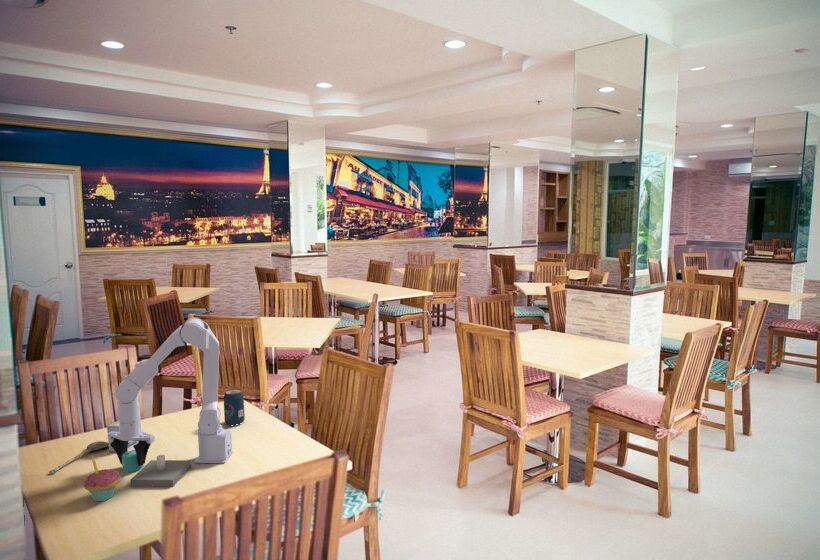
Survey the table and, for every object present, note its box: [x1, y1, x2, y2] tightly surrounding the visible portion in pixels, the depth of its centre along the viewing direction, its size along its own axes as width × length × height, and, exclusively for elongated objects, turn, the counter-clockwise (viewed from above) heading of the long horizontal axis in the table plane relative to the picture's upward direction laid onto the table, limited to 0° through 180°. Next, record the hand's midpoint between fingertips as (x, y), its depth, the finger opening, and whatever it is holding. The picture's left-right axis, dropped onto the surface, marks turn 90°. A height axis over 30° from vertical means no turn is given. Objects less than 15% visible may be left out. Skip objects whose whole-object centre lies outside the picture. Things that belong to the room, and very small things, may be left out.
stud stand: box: [129, 454, 192, 488], centre depth 158 cm, size 12×12×6 cm
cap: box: [121, 449, 145, 473], centre depth 163 cm, size 5×5×4 cm
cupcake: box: [83, 455, 122, 502], centre depth 146 cm, size 9×8×12 cm
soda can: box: [223, 388, 246, 426], centre depth 197 cm, size 7×7×12 cm
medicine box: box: [106, 419, 138, 452], centre depth 177 cm, size 8×4×9 cm, turn 168°
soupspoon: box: [48, 440, 109, 475], centre depth 170 cm, size 22×3×7 cm
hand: (132, 463), depth 163 cm, fingers closed on cap, 5 cm apart
